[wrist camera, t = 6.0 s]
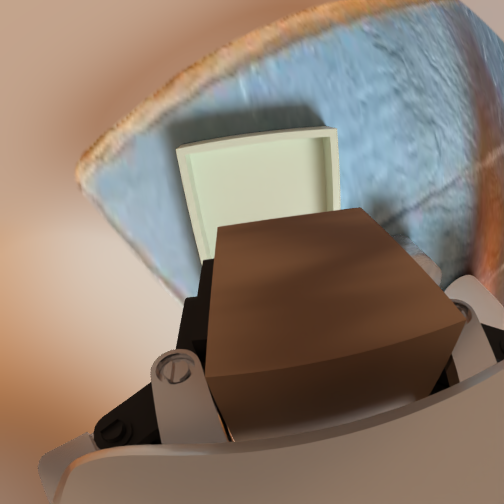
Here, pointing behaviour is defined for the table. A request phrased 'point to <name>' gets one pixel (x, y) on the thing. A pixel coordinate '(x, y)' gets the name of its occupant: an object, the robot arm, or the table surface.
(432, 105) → the table surface
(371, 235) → the walnut block
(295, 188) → the parts tray
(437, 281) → the metal cylinder
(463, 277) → the beverage can
